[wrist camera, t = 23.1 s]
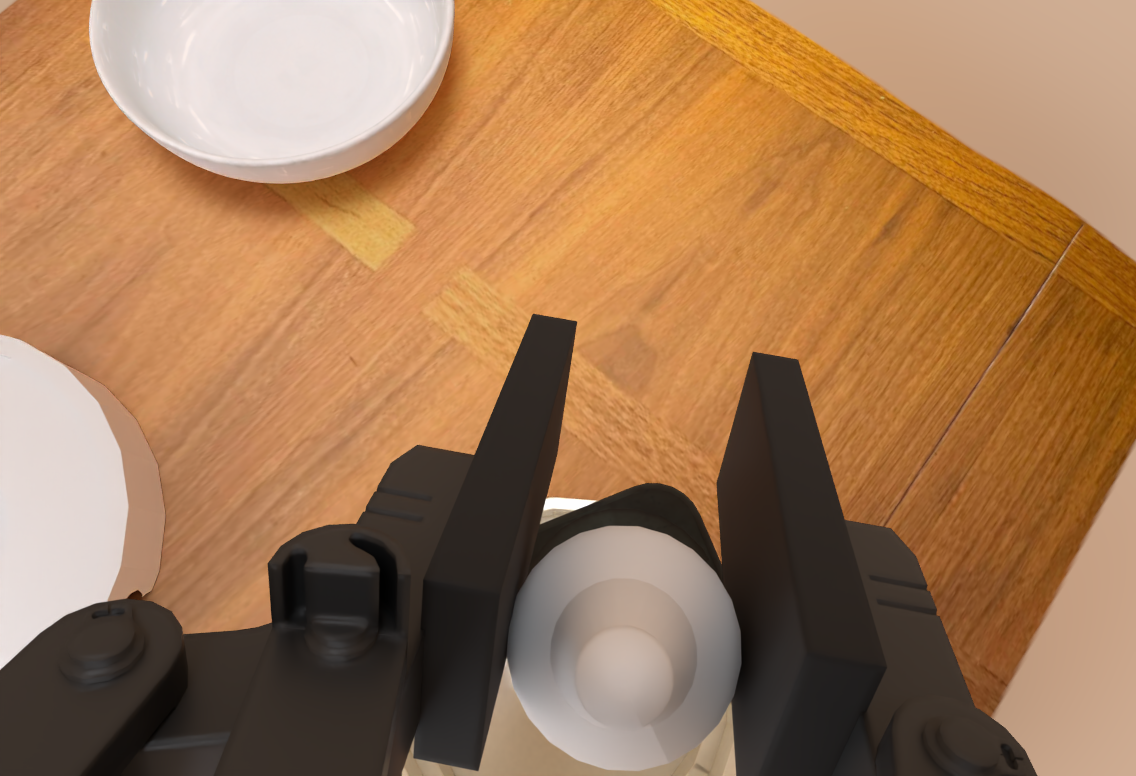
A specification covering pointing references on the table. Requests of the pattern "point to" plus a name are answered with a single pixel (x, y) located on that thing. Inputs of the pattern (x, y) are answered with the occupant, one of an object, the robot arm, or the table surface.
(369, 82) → the serving bowl
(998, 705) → the table surface
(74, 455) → the white round stand
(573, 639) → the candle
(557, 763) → the jar lid
